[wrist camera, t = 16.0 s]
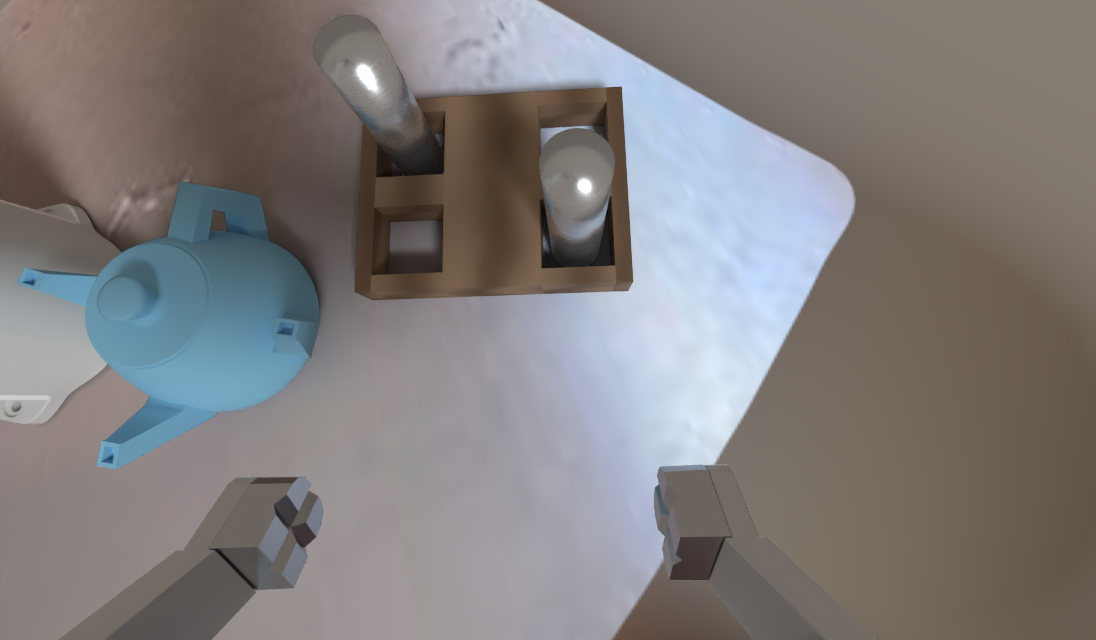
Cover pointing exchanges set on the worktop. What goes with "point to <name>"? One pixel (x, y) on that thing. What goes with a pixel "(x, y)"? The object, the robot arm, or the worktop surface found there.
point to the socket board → (489, 199)
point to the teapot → (194, 317)
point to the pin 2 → (576, 193)
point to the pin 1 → (378, 93)
